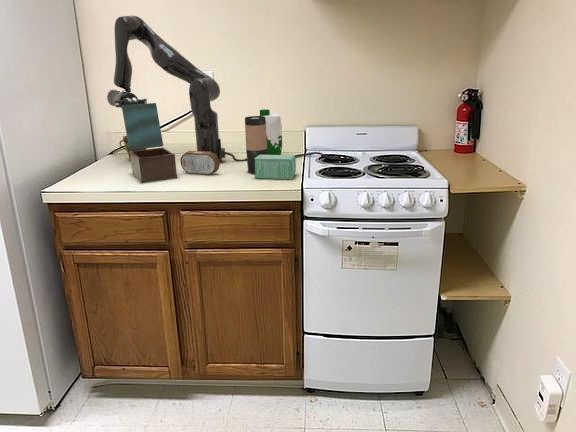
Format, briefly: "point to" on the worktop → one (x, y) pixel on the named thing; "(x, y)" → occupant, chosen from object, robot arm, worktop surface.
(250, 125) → the travel mug
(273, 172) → the box
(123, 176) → the worktop surface
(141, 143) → the lid
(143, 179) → the chest
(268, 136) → the milk carton
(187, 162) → the tin
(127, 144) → the ceramic cup
